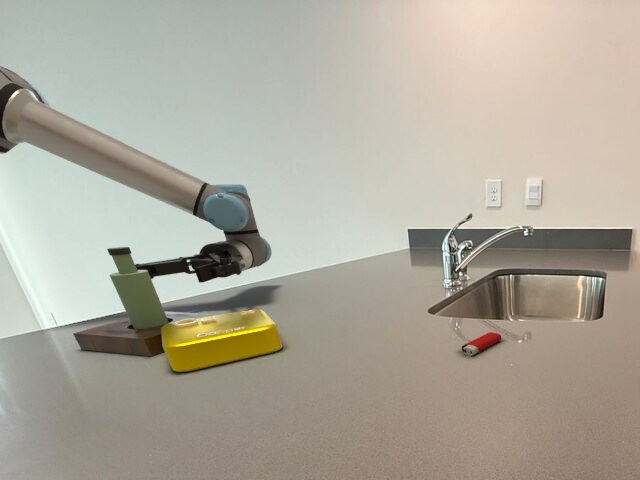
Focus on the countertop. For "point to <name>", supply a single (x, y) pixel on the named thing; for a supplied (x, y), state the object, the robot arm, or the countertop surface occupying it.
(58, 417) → the countertop surface
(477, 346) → the lighter
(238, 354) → the element tile
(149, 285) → the bottle
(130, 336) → the hole board
